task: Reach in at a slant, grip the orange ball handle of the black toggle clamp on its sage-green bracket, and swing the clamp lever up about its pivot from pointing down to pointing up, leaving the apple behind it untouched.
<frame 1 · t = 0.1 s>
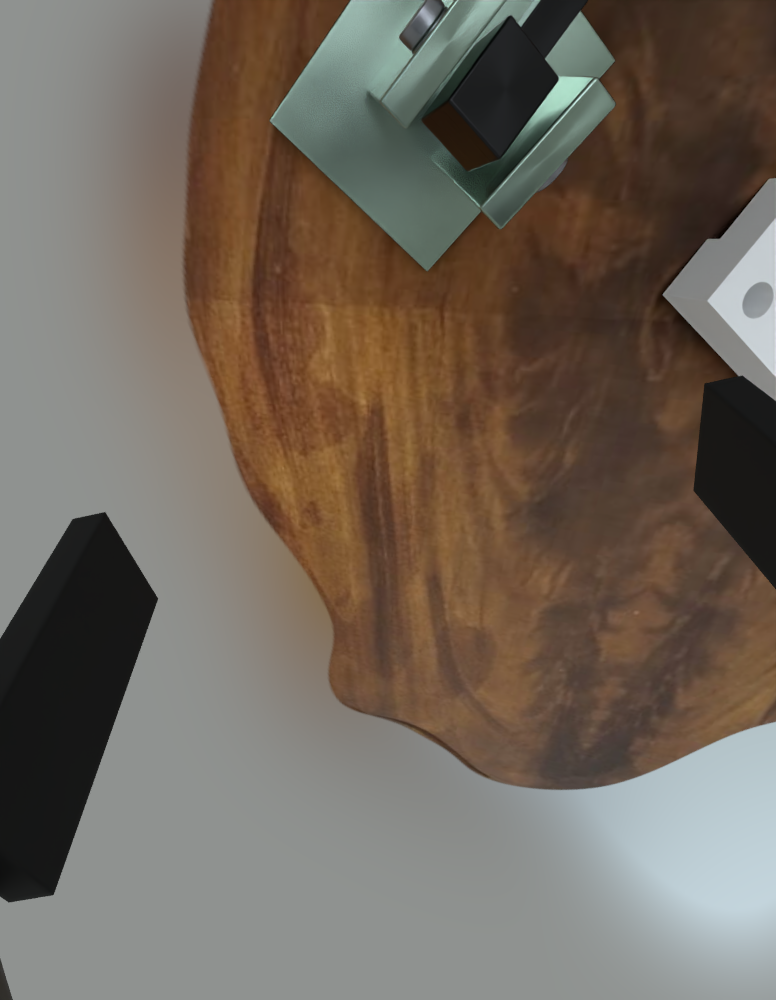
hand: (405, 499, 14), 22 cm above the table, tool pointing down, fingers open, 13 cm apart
clamp: (437, 90, 28), on the table
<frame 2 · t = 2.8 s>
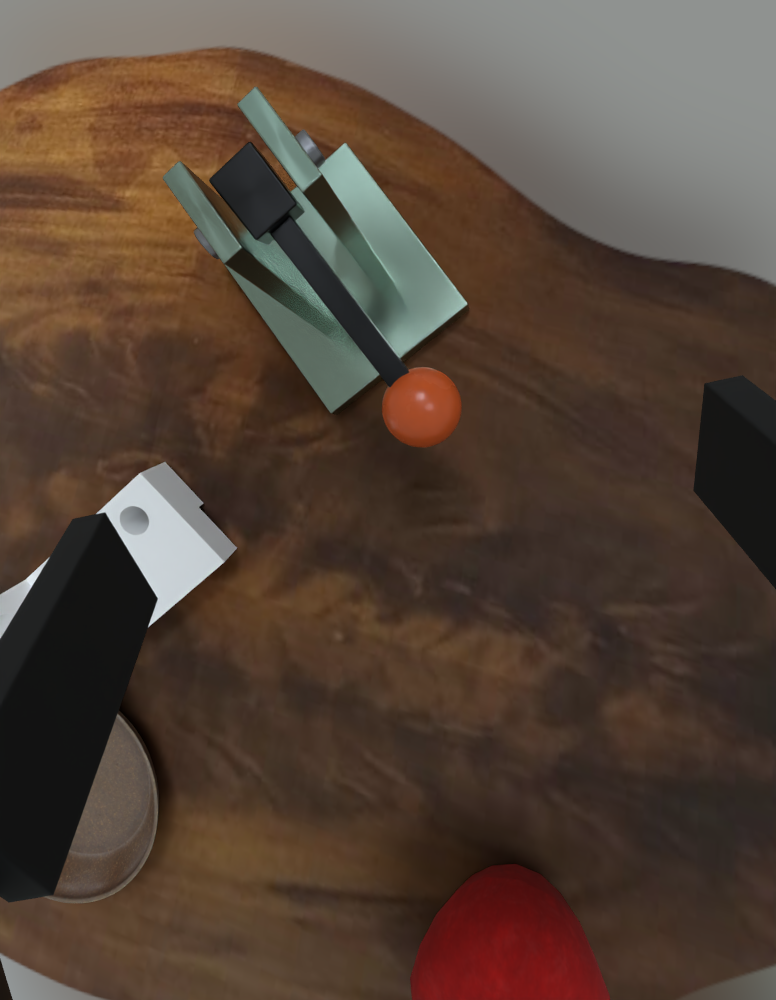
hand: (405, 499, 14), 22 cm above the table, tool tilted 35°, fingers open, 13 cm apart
apple: (511, 904, 36), on the table
bracket: (145, 574, 40), on the table
clamp: (343, 285, 36), on the table
saucer: (86, 772, 42), on the table
clamp lever: (347, 311, 26), point 10 cm above the table, hinge at -20.0°
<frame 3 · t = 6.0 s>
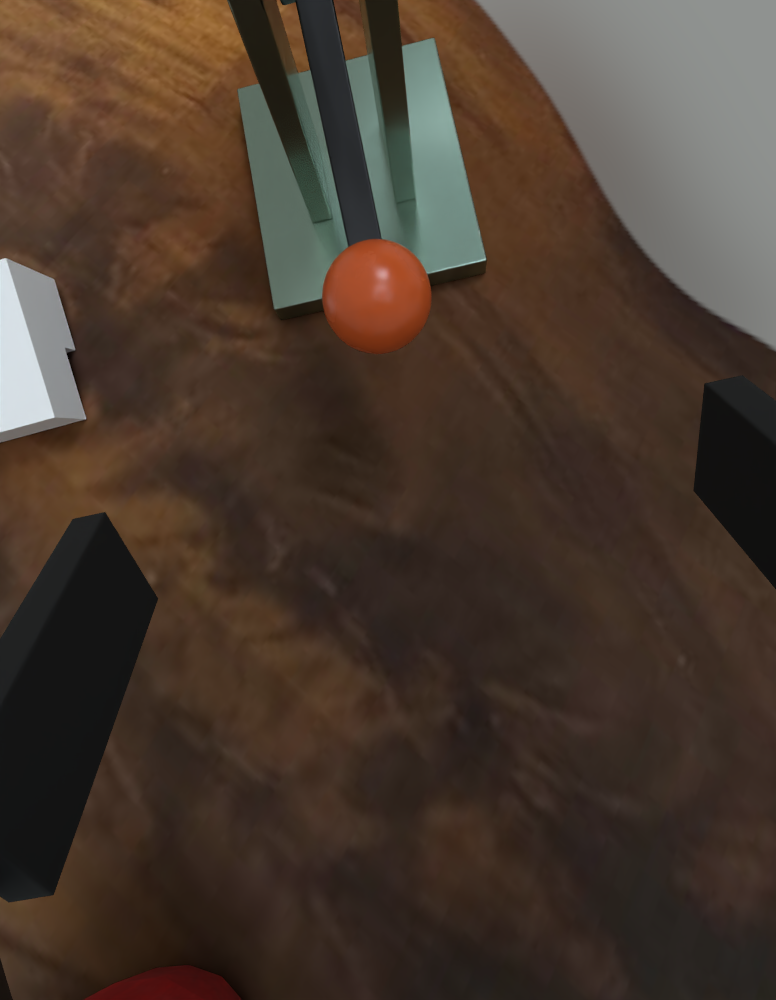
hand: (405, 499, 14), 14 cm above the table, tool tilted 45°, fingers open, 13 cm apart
clamp: (359, 186, 30), on the table
clamp lever: (340, 126, 19), point 10 cm above the table, hinge at -20.0°
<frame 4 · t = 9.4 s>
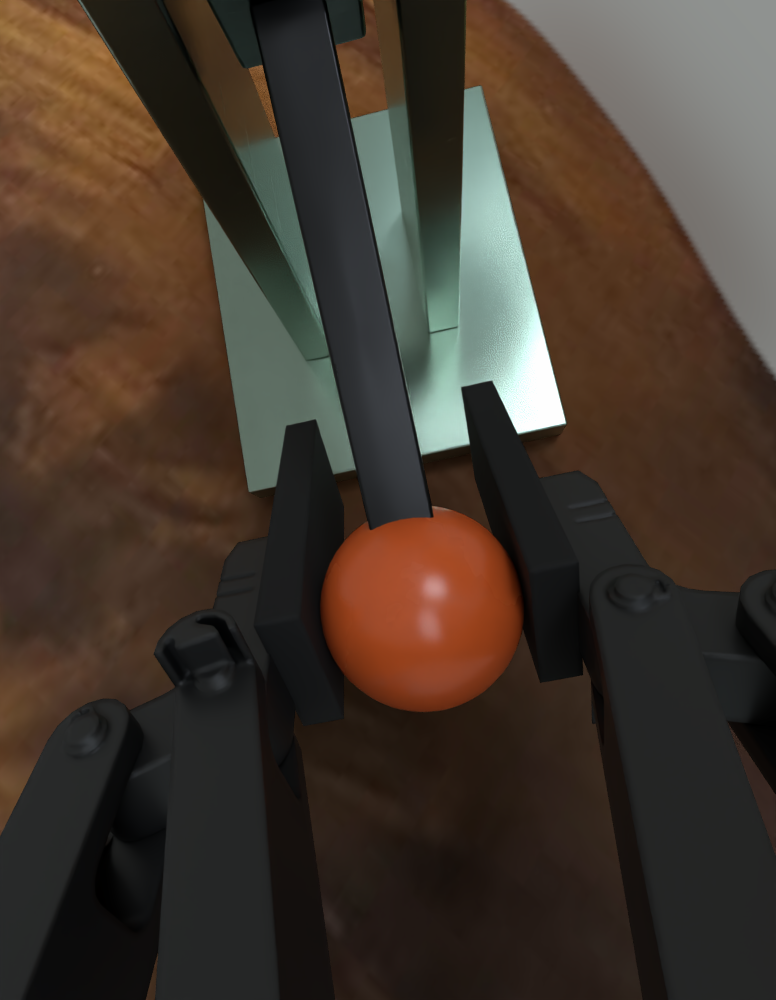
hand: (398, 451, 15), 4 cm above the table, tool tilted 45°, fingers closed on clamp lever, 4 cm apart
clamp: (373, 299, 21), on the table
clamp lever: (355, 304, 10), point 10 cm above the table, hinge at -20.0°, touching gripper
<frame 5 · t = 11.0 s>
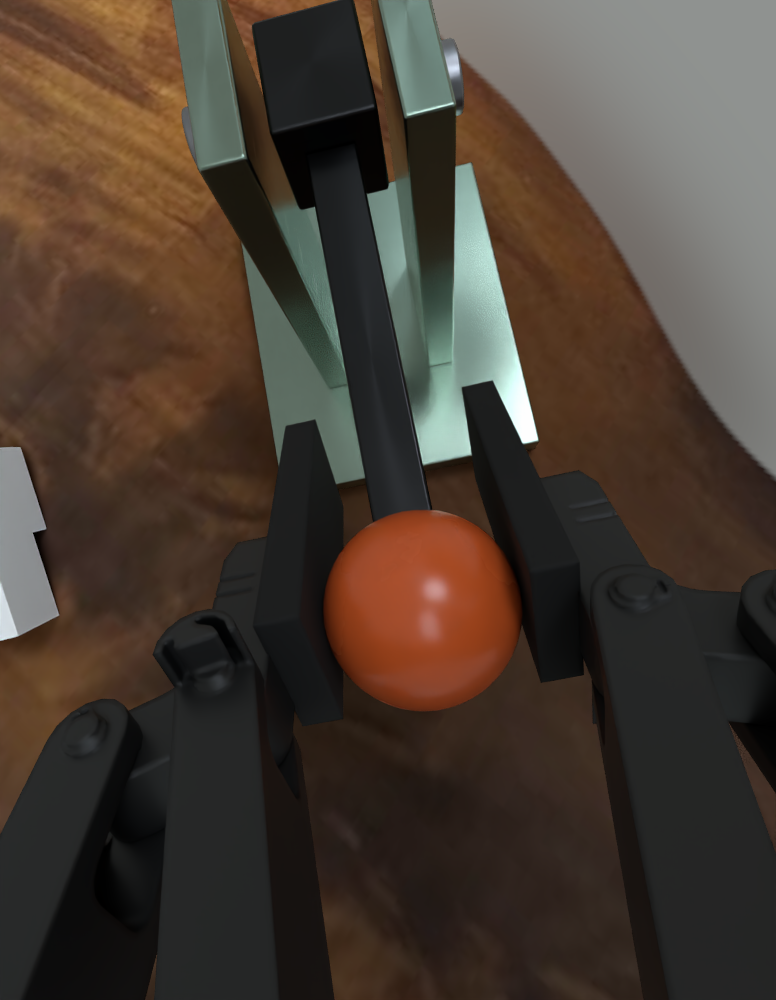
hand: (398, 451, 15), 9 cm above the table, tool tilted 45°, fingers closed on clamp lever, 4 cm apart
clamp: (383, 336, 25), on the table
clamp lever: (370, 344, 12), point 12 cm above the table, hinge at 2.5°, touching gripper
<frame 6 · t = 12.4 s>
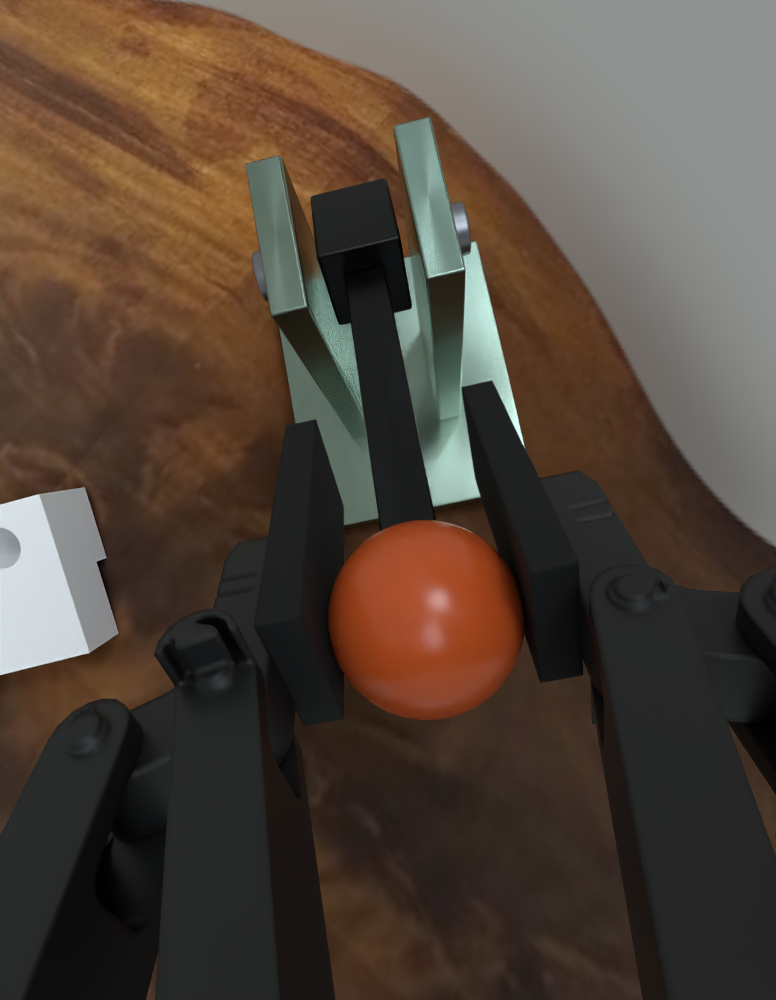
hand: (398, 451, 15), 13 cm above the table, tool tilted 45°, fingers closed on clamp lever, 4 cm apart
clamp: (399, 391, 29), on the table
clamp lever: (388, 403, 14), point 14 cm above the table, hinge at 23.0°, touching gripper
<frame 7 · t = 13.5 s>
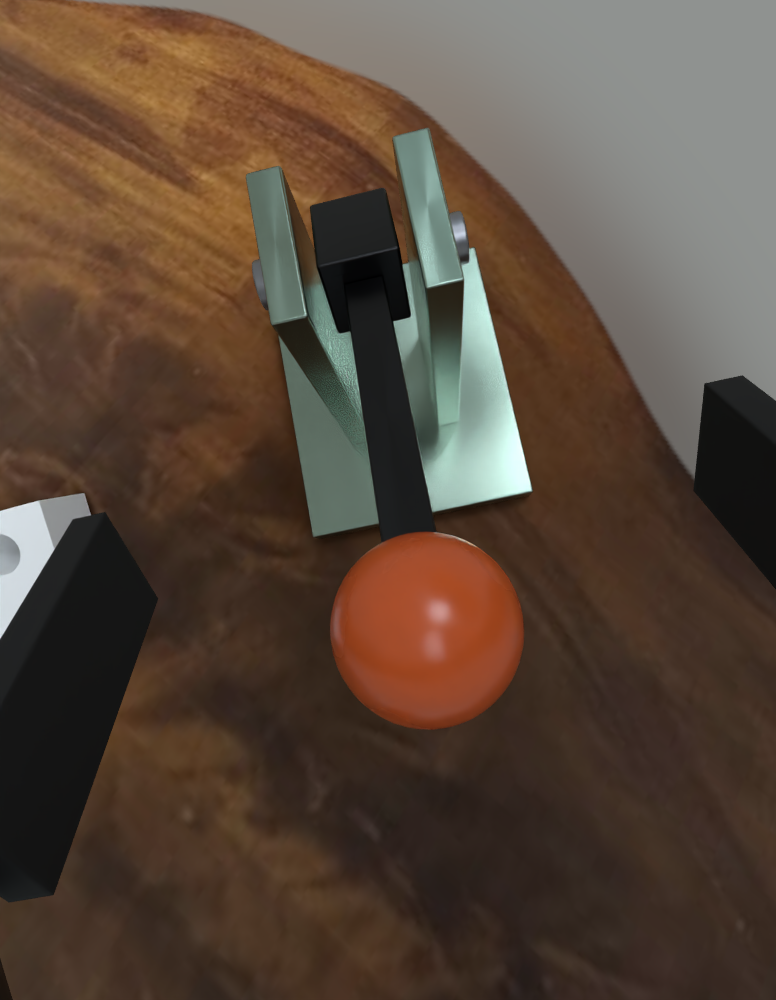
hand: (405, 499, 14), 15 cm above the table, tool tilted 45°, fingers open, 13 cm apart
clamp: (398, 396, 29), on the table
clamp lever: (388, 413, 14), point 14 cm above the table, hinge at 22.6°
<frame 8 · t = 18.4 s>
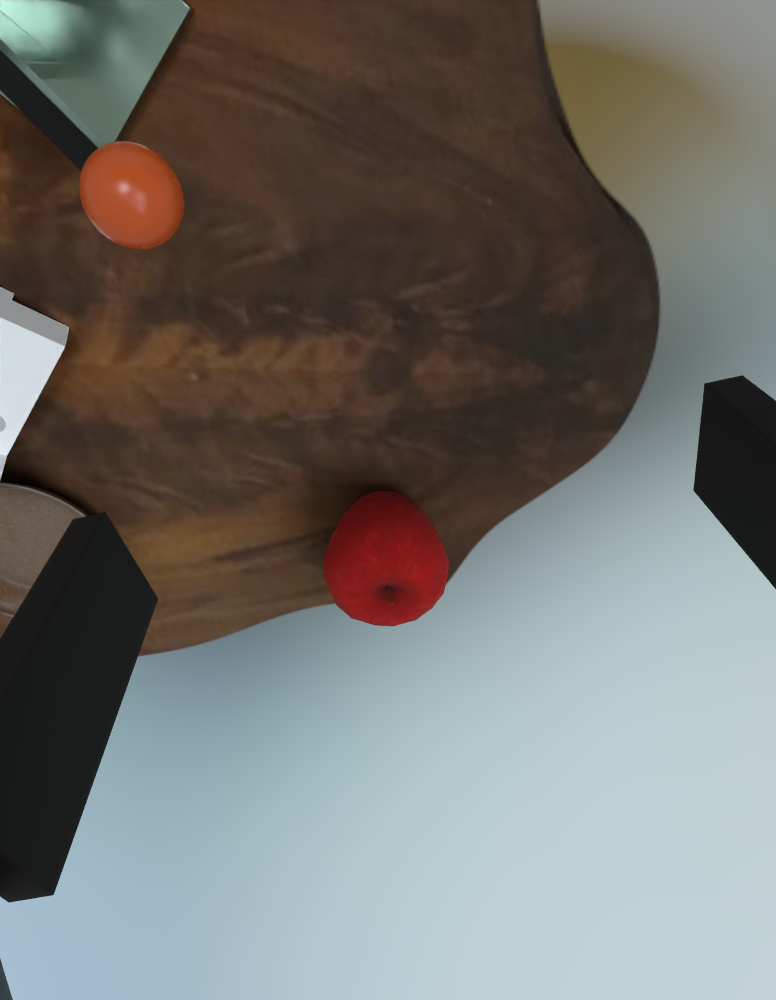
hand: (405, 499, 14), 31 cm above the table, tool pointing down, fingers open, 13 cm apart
apple: (381, 513, 52), on the table
clamp: (42, 1, 31), on the table
saucer: (36, 536, 51), on the table
clamp lever: (26, 89, 22), point 14 cm above the table, hinge at 22.6°
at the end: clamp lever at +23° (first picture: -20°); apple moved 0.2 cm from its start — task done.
